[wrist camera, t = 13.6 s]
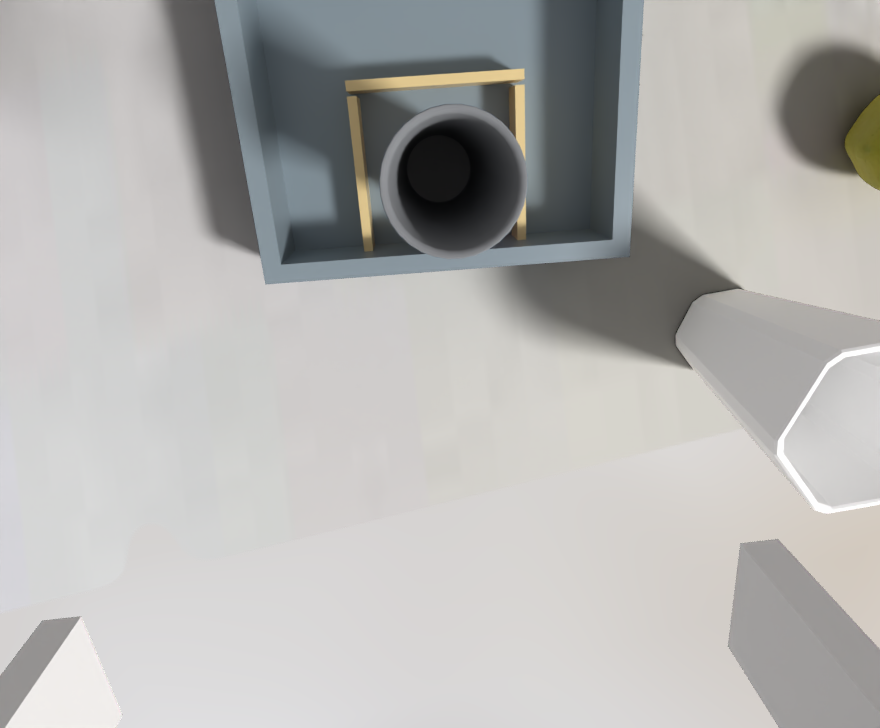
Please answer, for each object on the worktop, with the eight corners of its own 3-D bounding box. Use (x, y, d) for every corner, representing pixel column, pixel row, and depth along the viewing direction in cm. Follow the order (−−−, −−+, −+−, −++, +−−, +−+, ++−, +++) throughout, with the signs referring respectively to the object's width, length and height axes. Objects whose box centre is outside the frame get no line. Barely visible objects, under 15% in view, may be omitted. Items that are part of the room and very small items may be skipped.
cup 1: (382, 122, 39) (367, 114, 25) (482, 109, 39) (522, 93, 25) (397, 224, 41) (391, 268, 28) (491, 212, 41) (532, 249, 28)
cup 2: (630, 320, 46) (746, 416, 30) (740, 237, 44) (927, 292, 28) (700, 415, 50) (838, 545, 34) (805, 342, 48) (1004, 443, 32)
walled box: (231, -54, 36) (198, -89, 30) (613, -78, 36) (650, -117, 31) (284, 265, 43) (265, 284, 38) (601, 241, 44) (629, 256, 38)
